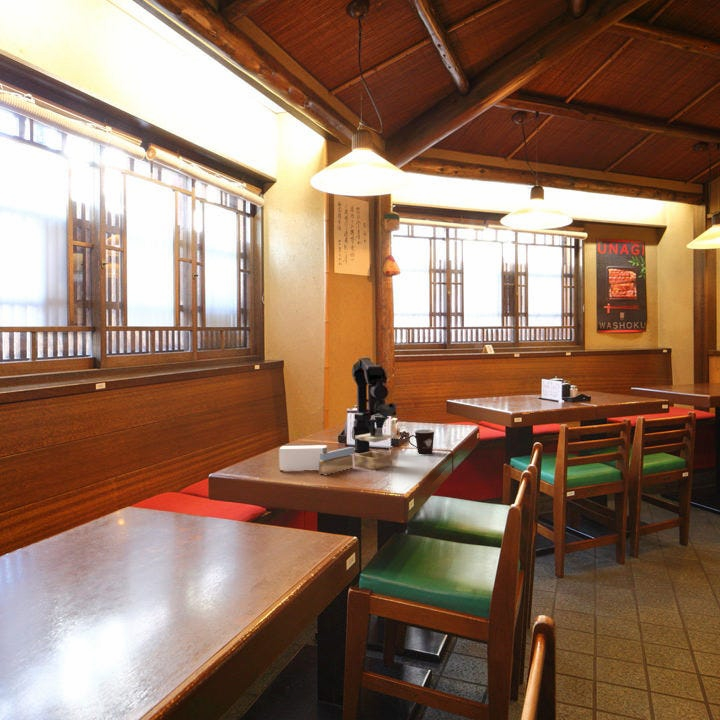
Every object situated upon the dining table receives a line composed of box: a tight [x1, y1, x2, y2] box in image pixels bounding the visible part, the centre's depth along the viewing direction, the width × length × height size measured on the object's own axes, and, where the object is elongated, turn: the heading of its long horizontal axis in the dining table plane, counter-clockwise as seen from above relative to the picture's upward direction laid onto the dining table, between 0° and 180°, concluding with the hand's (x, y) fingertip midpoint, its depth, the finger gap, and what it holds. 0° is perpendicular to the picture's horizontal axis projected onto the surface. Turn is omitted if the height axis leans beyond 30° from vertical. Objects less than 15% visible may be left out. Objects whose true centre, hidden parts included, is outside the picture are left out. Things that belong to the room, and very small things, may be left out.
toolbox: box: [353, 450, 393, 471], centre depth 227 cm, size 12×10×4 cm
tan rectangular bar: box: [318, 454, 354, 476], centre depth 220 cm, size 3×15×5 cm, turn 133°
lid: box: [355, 426, 392, 443], centre depth 228 cm, size 12×10×5 cm
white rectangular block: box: [277, 444, 328, 472], centre depth 225 cm, size 20×6×9 cm, turn 85°
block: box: [320, 446, 355, 460], centre depth 220 cm, size 2×16×4 cm, turn 133°
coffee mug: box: [407, 429, 435, 455], centre depth 248 cm, size 12×9×10 cm
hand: (376, 435), depth 226 cm, fingers closed on lid, 3 cm apart
